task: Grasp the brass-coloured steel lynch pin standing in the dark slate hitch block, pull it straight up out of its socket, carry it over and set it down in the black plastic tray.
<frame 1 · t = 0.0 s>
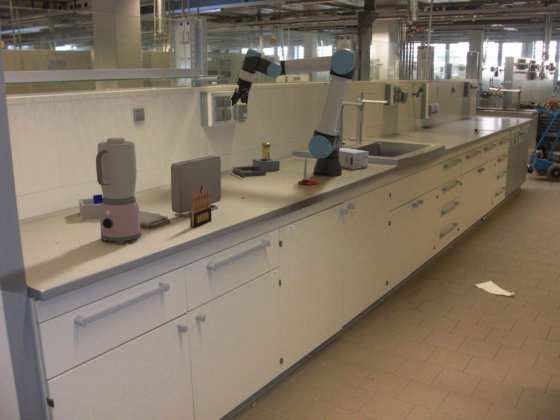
hand: (233, 118, 292), 28 cm above the counter, tool tilted 20°, fingers open, 13 cm apart
cable clip: (107, 213, 207), resting in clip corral
tray: (249, 174, 288), on the counter
washcloth: (141, 224, 196), on the counter
red base upright rod: (308, 184, 269), on the counter
hitch block: (265, 170, 300), on the counter
ammunition clip: (201, 224, 196), on the counter
supplement box: (349, 166, 322), on the counter
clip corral: (107, 213, 207), on the counter
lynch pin: (265, 169, 300), point 1 cm above the counter, touching hitch block
network device: (197, 211, 213), on the counter
blender: (118, 240, 175), on the counter
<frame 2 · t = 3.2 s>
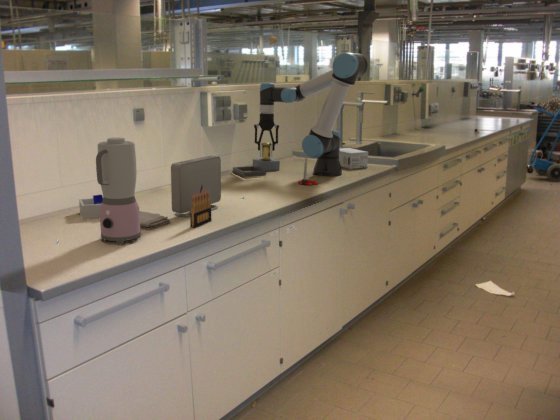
hand: (266, 156, 298), 8 cm above the counter, tool pointing down, fingers closed on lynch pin, 5 cm apart
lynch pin: (266, 169, 300), point 1 cm above the counter, touching gripper, hitch block
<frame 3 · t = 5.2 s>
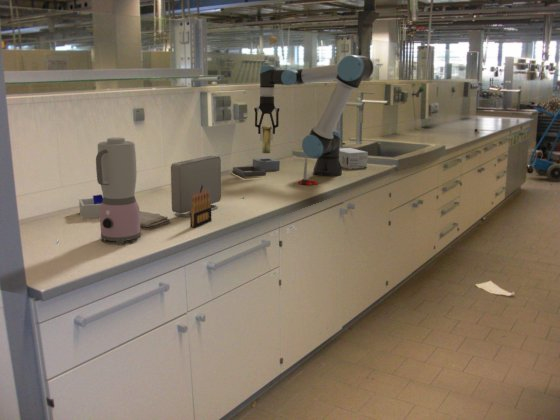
hand: (266, 140, 296), 17 cm above the counter, tool pointing down, fingers closed on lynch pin, 5 cm apart
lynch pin: (266, 152, 298), point 10 cm above the counter, touching gripper
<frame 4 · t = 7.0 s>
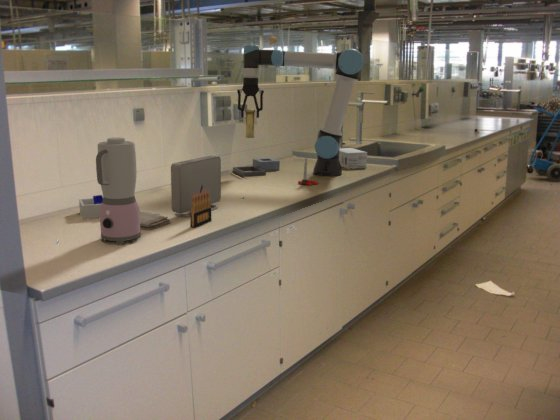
hand: (250, 124, 282), 26 cm above the counter, tool pointing down, fingers closed on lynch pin, 5 cm apart
cable clip: (107, 213, 207), resting in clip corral
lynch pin: (249, 137, 284), point 19 cm above the counter, touching gripper
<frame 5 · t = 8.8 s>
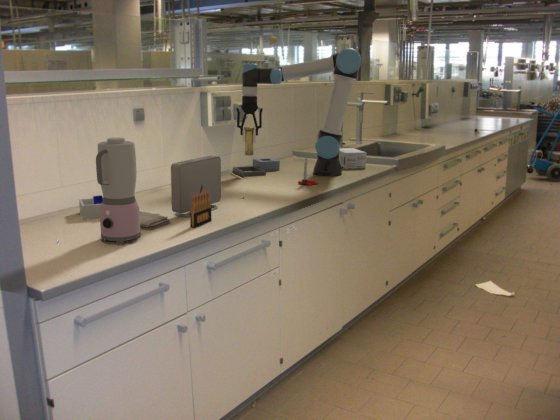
hand: (249, 141, 283), 17 cm above the counter, tool pointing down, fingers closed on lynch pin, 5 cm apart
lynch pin: (249, 154, 285), point 10 cm above the counter, touching gripper
when the fingers open (9 cm above the counter, at t = 10.6 s): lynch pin drops 1 cm, resting on tray.
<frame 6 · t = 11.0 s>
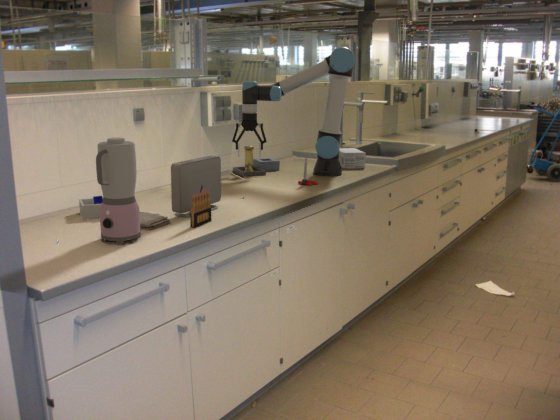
hand: (249, 156, 285), 10 cm above the counter, tool pointing down, fingers open, 10 cm apart
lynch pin: (249, 173, 287), point 1 cm above the counter, touching tray
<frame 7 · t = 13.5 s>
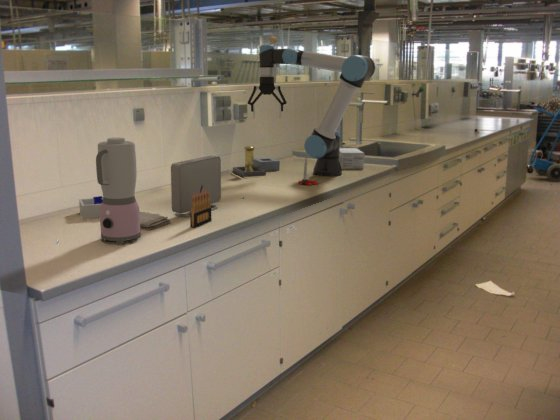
hand: (267, 118, 290), 29 cm above the counter, tool pointing down, fingers open, 13 cm apart
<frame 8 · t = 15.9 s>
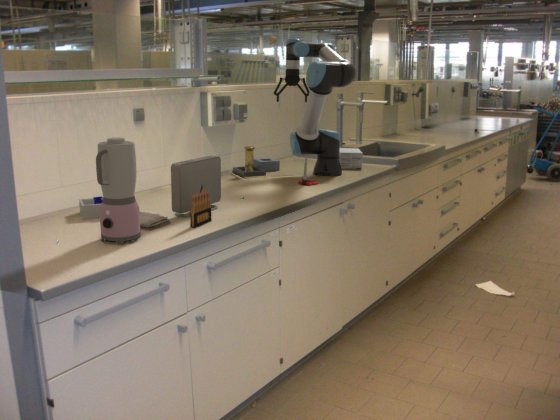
hand: (291, 108, 306), 33 cm above the counter, tool pointing down, fingers open, 13 cm apart
at the end: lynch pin inside the target area on the tray (0.1 cm from its centre), point 0.6 cm above the tray's base; the gripper is holding nothing; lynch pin touching tray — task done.
